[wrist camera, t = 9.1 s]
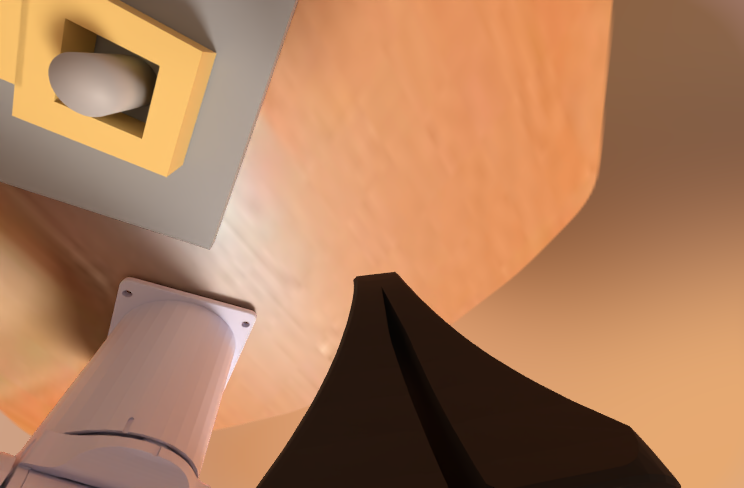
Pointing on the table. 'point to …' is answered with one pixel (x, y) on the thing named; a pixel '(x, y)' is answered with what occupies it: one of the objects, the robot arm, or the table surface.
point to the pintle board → (133, 97)
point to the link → (78, 34)
